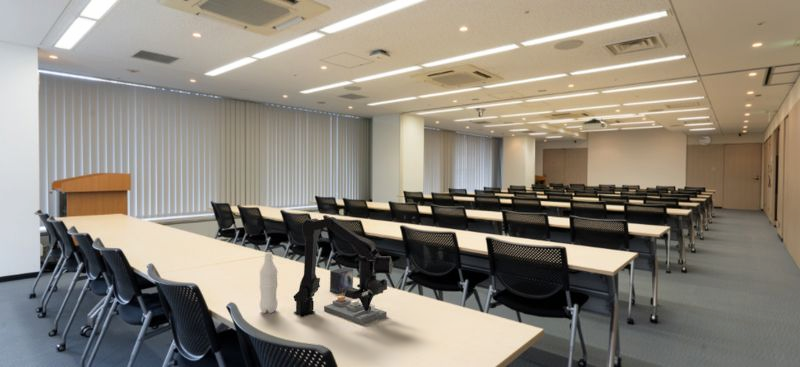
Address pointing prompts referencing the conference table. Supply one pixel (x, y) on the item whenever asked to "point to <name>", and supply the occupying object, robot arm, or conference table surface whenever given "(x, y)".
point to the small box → (341, 280)
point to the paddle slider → (371, 308)
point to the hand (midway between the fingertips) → (366, 310)
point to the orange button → (341, 299)
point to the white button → (355, 303)
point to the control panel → (354, 312)
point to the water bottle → (268, 285)
